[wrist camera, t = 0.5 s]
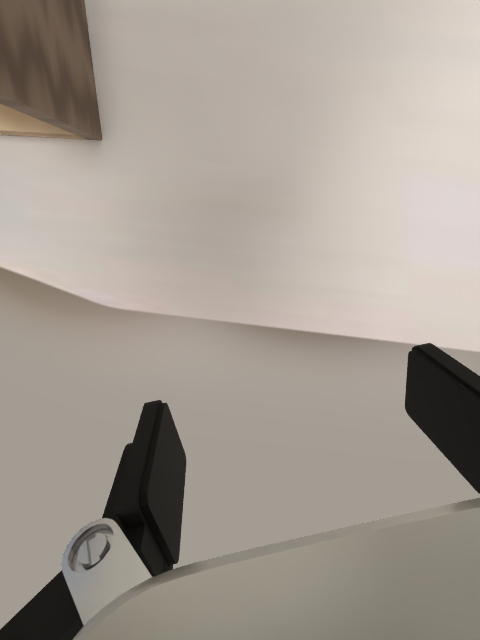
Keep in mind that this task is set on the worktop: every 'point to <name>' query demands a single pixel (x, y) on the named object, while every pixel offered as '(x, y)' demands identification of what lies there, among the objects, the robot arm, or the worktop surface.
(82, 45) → the cleat shelf
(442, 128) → the worktop surface
